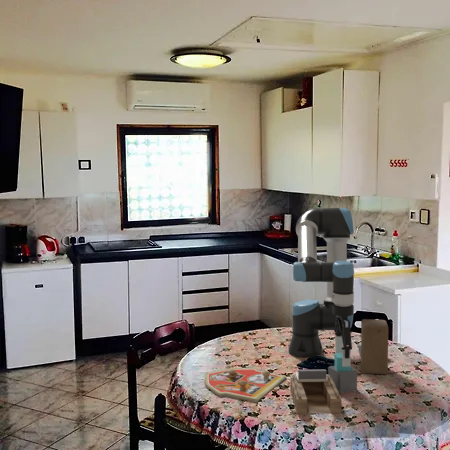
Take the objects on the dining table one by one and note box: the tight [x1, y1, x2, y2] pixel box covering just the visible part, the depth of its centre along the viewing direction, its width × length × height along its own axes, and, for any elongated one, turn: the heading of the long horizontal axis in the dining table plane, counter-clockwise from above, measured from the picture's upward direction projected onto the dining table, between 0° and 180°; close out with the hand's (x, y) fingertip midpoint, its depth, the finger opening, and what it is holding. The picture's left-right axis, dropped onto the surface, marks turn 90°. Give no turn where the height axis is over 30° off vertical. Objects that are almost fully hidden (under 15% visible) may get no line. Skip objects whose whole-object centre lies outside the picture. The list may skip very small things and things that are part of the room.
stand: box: [327, 365, 358, 394], centre depth 206 cm, size 8×8×8 cm
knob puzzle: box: [204, 367, 287, 404], centre depth 214 cm, size 29×30×4 cm
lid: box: [294, 368, 328, 382], centre depth 203 cm, size 7×11×4 cm, turn 89°
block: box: [334, 353, 352, 371], centre depth 205 cm, size 5×5×5 cm
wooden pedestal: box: [290, 374, 342, 415], centre depth 195 cm, size 19×15×6 cm
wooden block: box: [360, 318, 389, 375], centre depth 224 cm, size 10×10×20 cm
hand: (342, 359), depth 206 cm, fingers open, 13 cm apart
